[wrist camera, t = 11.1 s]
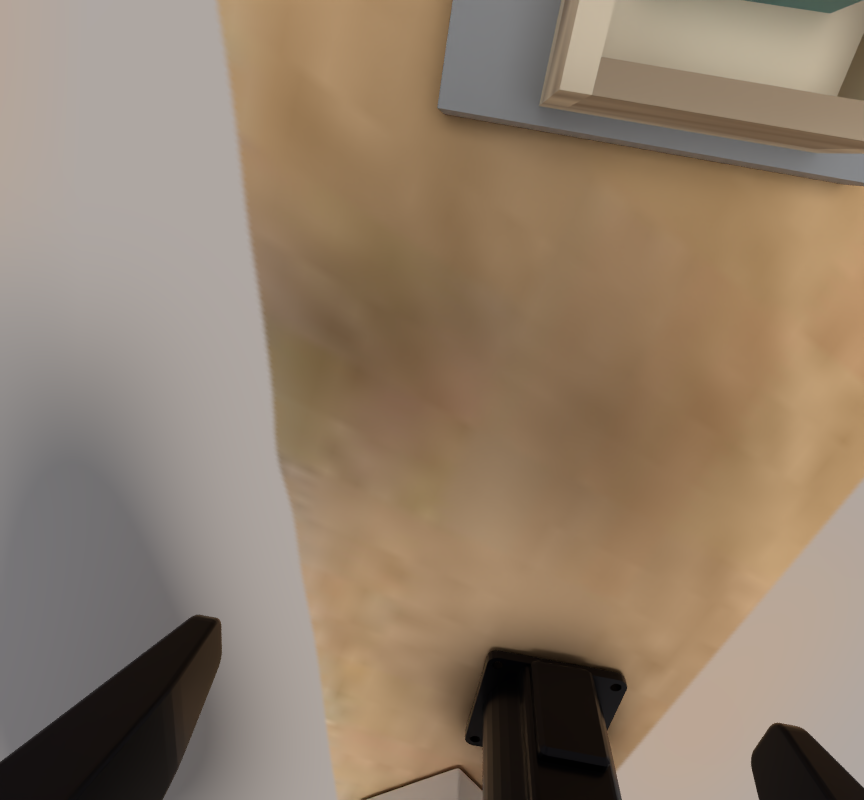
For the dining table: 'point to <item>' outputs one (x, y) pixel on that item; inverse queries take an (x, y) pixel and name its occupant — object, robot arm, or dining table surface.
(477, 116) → the block
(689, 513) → the dining table surface
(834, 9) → the cargo block
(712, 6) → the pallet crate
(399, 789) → the milk carton
